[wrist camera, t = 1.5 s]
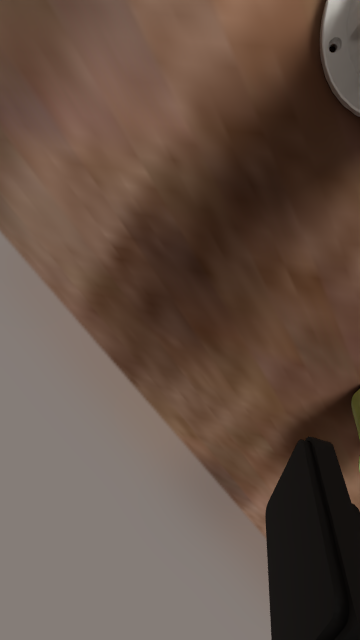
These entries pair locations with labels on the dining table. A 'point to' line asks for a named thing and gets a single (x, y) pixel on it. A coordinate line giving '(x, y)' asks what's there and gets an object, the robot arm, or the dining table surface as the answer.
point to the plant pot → (356, 412)
